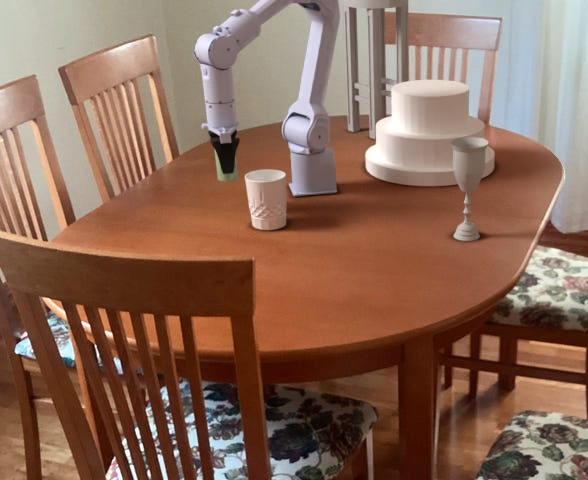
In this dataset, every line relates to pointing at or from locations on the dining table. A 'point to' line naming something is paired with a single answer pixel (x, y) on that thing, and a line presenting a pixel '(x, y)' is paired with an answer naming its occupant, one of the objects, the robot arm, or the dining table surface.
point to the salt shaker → (226, 177)
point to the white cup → (267, 198)
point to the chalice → (468, 178)
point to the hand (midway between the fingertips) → (227, 169)
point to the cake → (424, 134)
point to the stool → (373, 58)
